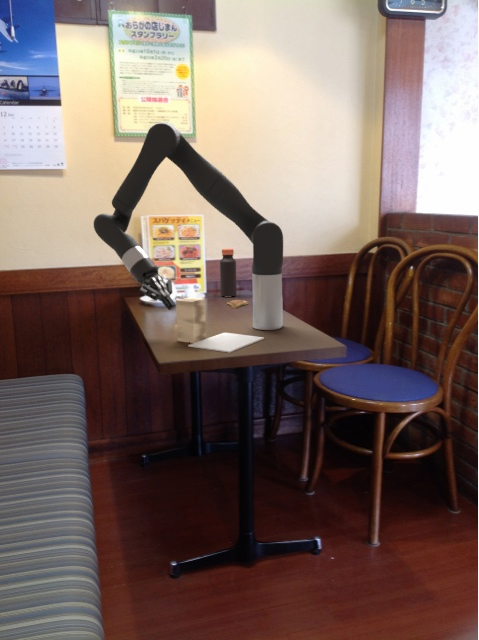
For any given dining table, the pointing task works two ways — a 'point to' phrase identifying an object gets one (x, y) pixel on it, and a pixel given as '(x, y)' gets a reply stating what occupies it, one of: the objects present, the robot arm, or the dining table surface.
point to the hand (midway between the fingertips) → (172, 307)
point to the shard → (237, 303)
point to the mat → (226, 342)
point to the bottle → (228, 273)
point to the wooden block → (191, 319)
